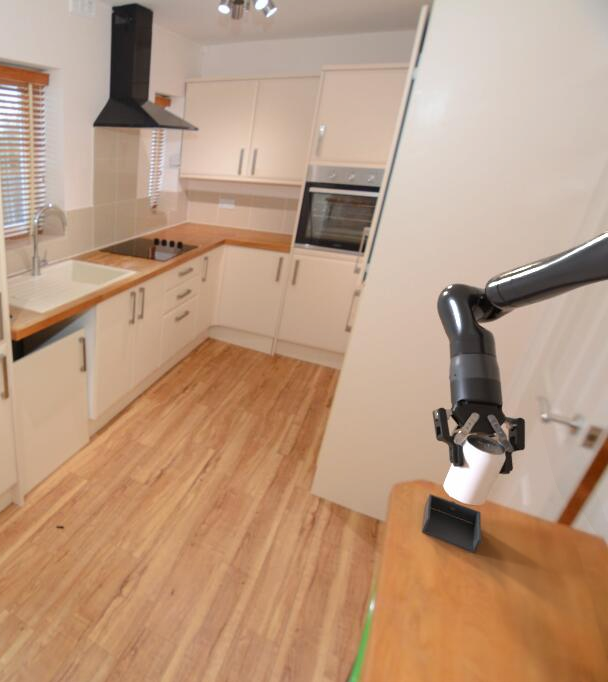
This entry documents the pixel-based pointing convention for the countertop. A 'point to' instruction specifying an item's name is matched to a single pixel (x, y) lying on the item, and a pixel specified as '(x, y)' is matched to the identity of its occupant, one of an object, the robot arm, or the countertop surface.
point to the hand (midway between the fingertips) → (481, 469)
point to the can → (475, 470)
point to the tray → (452, 523)
